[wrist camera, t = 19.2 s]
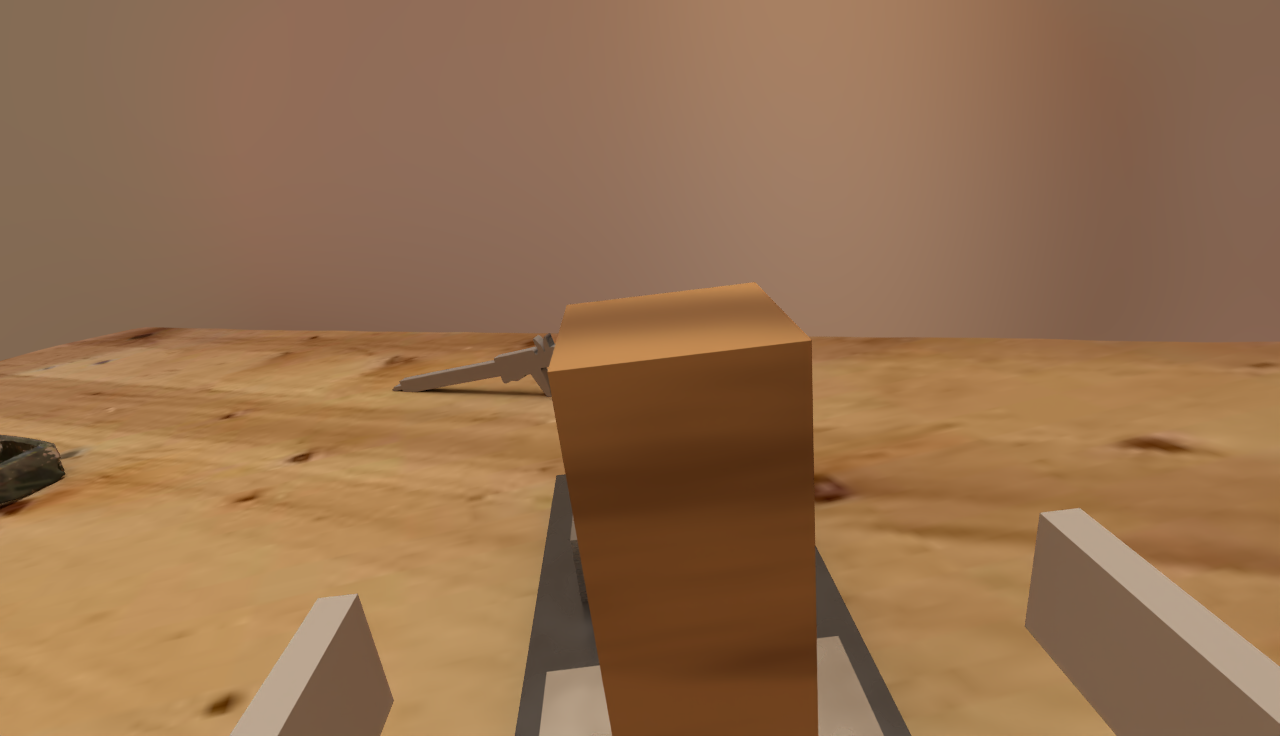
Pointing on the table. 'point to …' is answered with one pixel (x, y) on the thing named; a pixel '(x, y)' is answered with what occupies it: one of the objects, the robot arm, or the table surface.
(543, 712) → the socket board
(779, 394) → the peg
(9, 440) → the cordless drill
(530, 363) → the caliper
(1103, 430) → the table surface
